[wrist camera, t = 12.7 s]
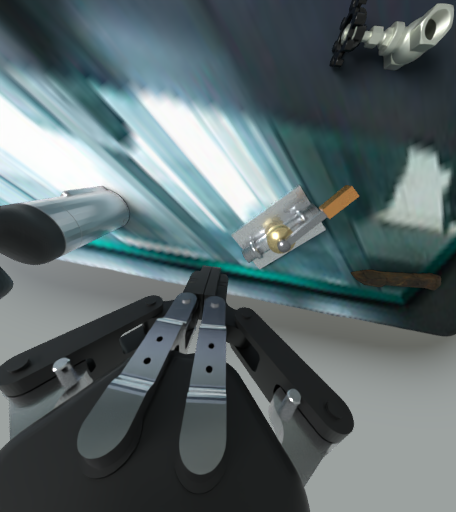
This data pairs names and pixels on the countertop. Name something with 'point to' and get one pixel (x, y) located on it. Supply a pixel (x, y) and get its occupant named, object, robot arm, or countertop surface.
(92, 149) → the countertop surface
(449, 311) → the countertop surface
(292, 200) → the valve manifold
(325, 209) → the valve lever
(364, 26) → the valve
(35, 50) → the countertop surface
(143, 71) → the countertop surface
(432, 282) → the hand tool
